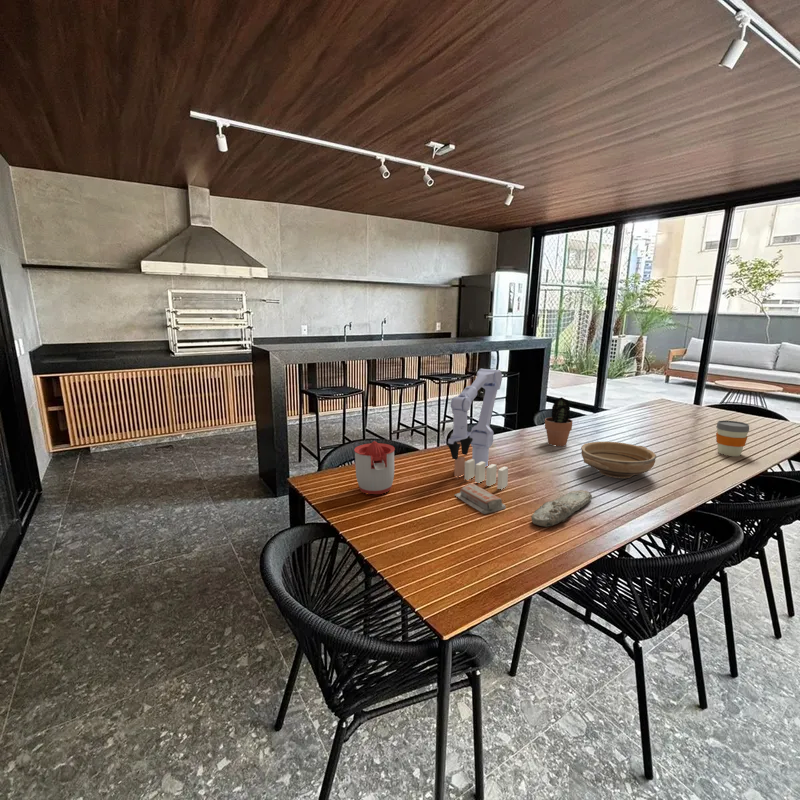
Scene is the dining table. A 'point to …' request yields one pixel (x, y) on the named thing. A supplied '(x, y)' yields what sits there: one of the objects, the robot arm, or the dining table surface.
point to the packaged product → (480, 499)
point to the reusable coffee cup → (731, 437)
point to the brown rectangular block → (459, 466)
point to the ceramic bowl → (618, 458)
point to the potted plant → (559, 423)
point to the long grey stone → (560, 508)
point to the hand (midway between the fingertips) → (459, 456)
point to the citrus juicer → (374, 467)
